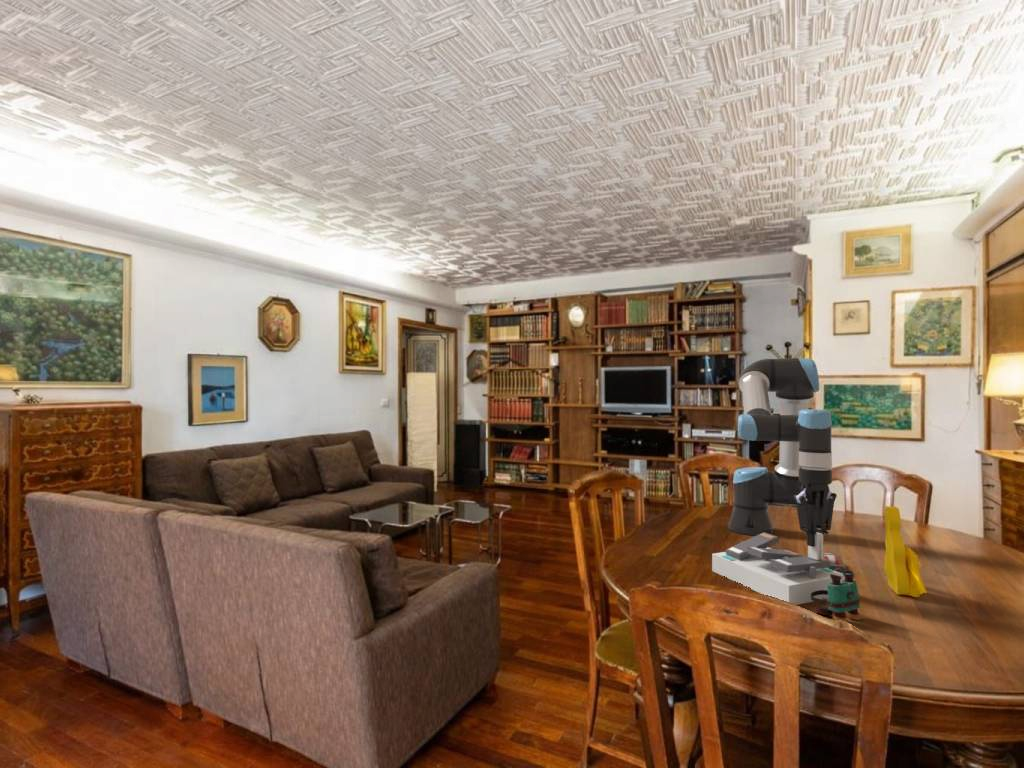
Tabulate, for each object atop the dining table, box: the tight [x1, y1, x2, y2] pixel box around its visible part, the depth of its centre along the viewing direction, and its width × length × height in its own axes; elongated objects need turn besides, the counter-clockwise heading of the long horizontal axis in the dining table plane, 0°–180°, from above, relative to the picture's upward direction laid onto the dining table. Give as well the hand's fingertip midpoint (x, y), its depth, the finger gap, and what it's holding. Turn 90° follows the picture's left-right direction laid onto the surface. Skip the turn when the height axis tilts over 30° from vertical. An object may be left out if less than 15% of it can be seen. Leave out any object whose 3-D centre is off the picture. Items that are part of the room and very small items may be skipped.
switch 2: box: [747, 547, 804, 559], centre depth 140 cm, size 15×5×2 cm, turn 110°
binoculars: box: [811, 569, 861, 622], centre depth 120 cm, size 9×11×10 cm
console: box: [711, 540, 845, 606], centre depth 140 cm, size 20×26×8 cm
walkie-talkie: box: [823, 552, 847, 574], centre depth 149 cm, size 9×4×20 cm
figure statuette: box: [883, 506, 928, 598], centre depth 133 cm, size 18×8×22 cm, turn 160°
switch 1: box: [724, 532, 780, 560], centre depth 148 cm, size 15×5×2 cm, turn 111°
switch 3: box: [771, 555, 831, 573], centre depth 133 cm, size 15×5×2 cm, turn 111°
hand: (815, 557), depth 135 cm, fingers closed, pressing on switch 3
